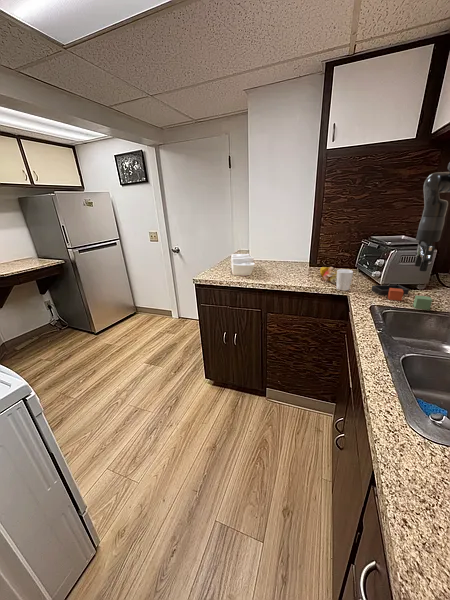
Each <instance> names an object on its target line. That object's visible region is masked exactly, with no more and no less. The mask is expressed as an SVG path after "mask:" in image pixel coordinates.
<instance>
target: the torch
mask: <svg viewBox="0 0 450 600" xmlns="http://www.w3.org/2000/svg"><path fill="white" fill-rule="evenodd" d="M334 269H335V267H333V266H322V267H320V269H319V273H320V276H321V277H322V279H323V280H324V281H327V282H330V283H332V284H334V285H336V279H337V271H335V270H334Z"/></svg>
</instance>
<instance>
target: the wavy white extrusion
mask: <svg viewBox="0 0 450 600" xmlns="http://www.w3.org/2000/svg"><path fill="white" fill-rule="evenodd" d="M254 260H255V257H254V256H252V255H251V254H250V253H231V256H230V268H231V273H232V275H233V276H251V275H252V273H253V271H254V268H255V265H256V263H255V262H254Z"/></svg>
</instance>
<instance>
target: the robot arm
mask: <svg viewBox="0 0 450 600" xmlns="http://www.w3.org/2000/svg"><path fill="white" fill-rule="evenodd" d="M447 170H448V171H443V172H442V171H440V172H439V171H437V172H433V173H431V174H429V175H428V176H427V177H426V178H425V180H424V183H423V187H422V189H423V203H424V204H423V205H424V206H423V210H422V215H421V218H420V221H419V224H418V228H417V232H416V236H415V240H416V241H417V242H418V243H417V247H416V251H415V257H416V259H415V262H414V266H415V267H418V268H419V271H420V272H427V270H428V267H429V263H430V262H432V261H433V256H434V252H435V249H436V245H433V243H437V242H439V241H440V240H441V236H442V233H443V229H444V226H445V218H446V214H447V211H448V207H449V201H448V200H446V199H441V198H440V194H445V193H446V194H447V193H450V162H449V163H448V164H447Z"/></svg>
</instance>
